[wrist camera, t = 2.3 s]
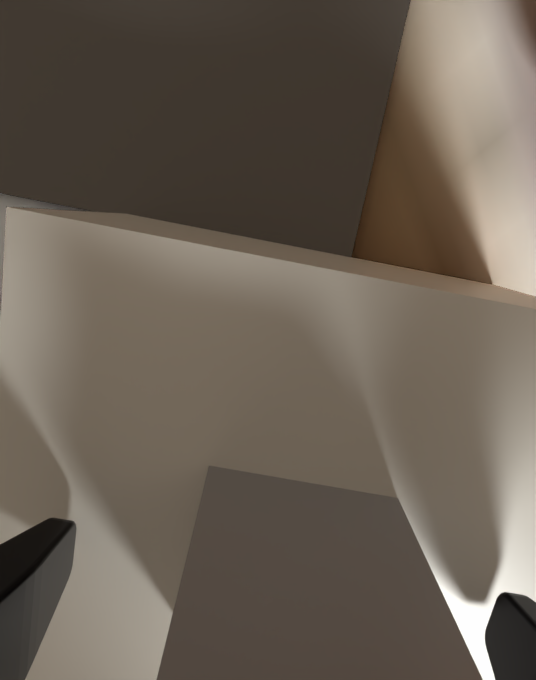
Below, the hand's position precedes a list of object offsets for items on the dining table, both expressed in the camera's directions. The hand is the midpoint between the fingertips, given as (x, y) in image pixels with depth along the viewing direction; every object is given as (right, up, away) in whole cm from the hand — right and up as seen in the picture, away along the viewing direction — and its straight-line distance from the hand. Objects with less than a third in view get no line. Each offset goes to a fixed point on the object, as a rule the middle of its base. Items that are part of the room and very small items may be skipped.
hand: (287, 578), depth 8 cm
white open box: (0, +2, +6) cm, 6 cm away
